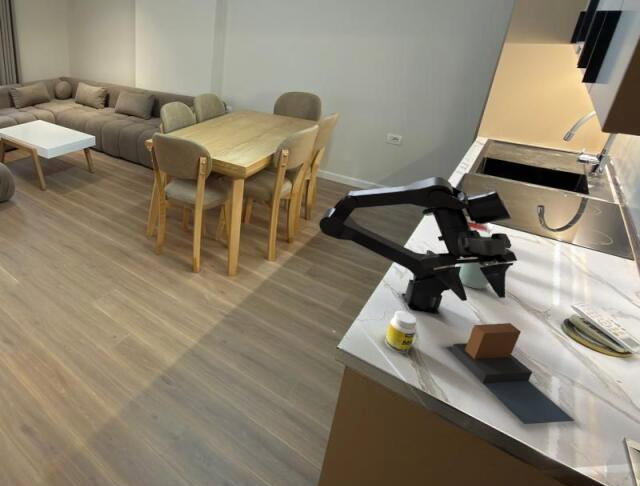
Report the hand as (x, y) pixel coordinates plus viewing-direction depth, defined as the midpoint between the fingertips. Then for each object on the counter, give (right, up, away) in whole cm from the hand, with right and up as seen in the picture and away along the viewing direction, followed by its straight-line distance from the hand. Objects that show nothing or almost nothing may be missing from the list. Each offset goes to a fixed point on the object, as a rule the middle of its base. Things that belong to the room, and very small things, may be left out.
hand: (483, 299), depth 86 cm
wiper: (0, -14, -2) cm, 14 cm away
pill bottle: (+28, -1, +35) cm, 45 cm away
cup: (+19, -5, +25) cm, 31 cm away
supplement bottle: (-16, -13, +4) cm, 21 cm away
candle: (+37, +4, +46) cm, 59 cm away
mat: (0, -16, -5) cm, 16 cm away
